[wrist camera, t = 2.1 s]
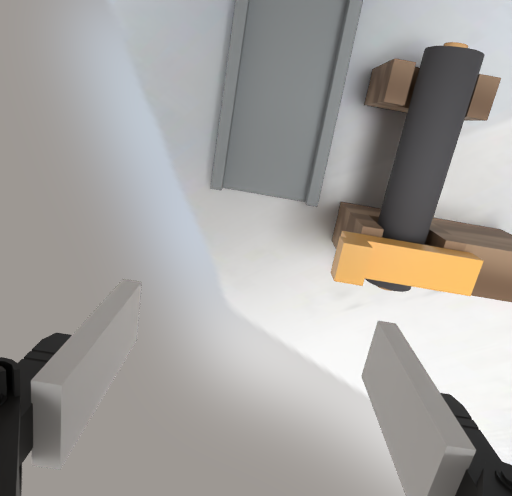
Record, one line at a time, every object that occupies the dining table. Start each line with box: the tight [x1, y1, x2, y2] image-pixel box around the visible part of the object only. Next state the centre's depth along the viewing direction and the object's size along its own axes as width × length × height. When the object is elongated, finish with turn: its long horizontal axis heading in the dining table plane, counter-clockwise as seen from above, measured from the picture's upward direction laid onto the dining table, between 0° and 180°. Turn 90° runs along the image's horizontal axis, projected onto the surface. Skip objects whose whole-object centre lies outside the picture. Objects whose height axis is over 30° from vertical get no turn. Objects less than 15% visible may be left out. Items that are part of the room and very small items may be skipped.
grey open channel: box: [211, 0, 363, 207], centre depth 34 cm, size 21×10×2 cm, turn 170°
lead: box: [365, 42, 484, 292], centre depth 31 cm, size 19×4×4 cm, turn 170°
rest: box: [364, 59, 501, 120], centre depth 32 cm, size 3×8×6 cm, turn 80°
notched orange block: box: [331, 231, 483, 296], centre depth 29 cm, size 3×10×3 cm, turn 80°
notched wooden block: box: [332, 202, 512, 302], centre depth 35 cm, size 4×16×9 cm, turn 80°
